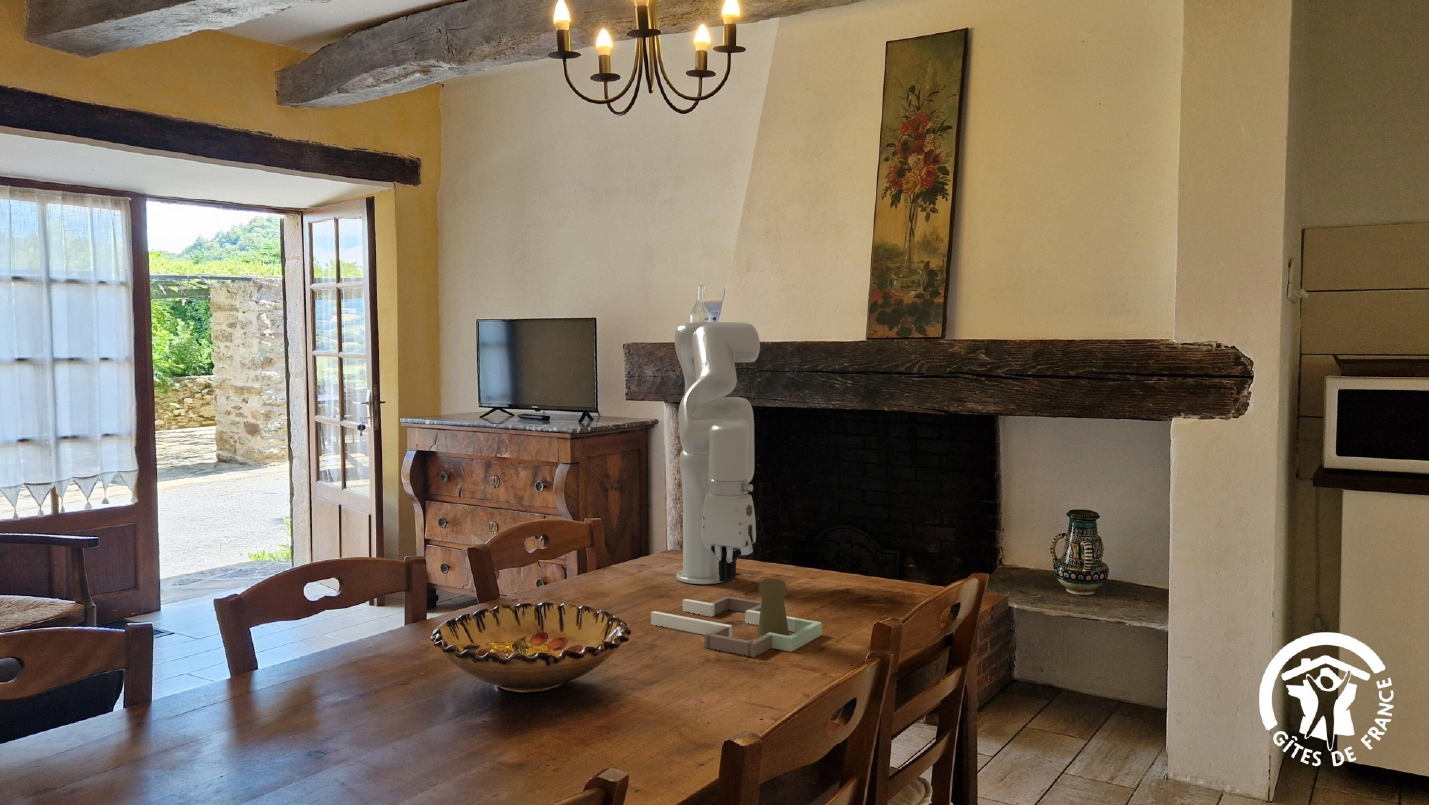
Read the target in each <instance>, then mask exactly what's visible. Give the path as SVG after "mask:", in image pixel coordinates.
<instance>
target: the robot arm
mask: <svg viewBox="0 0 1429 805" xmlns="http://www.w3.org/2000/svg"><path fill="white" fill-rule="evenodd" d="M674 346H675V347H674V349H675V352H676V357H677V360H678V362H679V364H680V368H681V370H682V373H683V377H684V394H683V396H682V398H681V401H680V402H679V403H680V404H679V407H678V414H677V415H678V416H677V417H678V419H677V420H678V430H679V432H678V433H679V440H680V446H681V448H682V450H681V451H680V454H679V457H678V458H679V460H678V464H679V465H678V466H679V472H680V473H679V474H680V479H681V487H682V569H681V570H679V571H677V572H676V579H677V580H678V581H680V582H682V583H687V584H694V585H712V584H713V585H714V584H720V583H729V582H731V581H734V580H735V579H736V576H737V561H738V560H739V558H741V556H747V555H751V554H752V553H754V549H753V544H755V543H756V539H757V530H756V529H757V527H756V515H755V514H756V513H755V506H754V501H753V497H752V495H751V494H749V492H750V493H751V492H753V490H754V485H753V484H750V482H752V480H753V477H754V474H755V420H754V419H755V418H754V410H753V407H752V404H751V403H750V401H749V400H748V399H746V398H745V397H740V396H728V395H729V394H731V393H732V392H733V391H734V390H735V388H736V386H737V382H738V377H737V371H736V366H735V363H754V362H756V360H757V359H758V358H759V354H760V349H761V342H760V336H759V333H758V331H757V329H756V327H755V326H754V325H753V324H751V323H749V322H739V321H738V322H736V321H732V322H731V321H730V322H728V321H727V322H726V321H725V322H723V321H722V322H720V321H694V322H686V323H683V324H681V325H679V326H677V328H676V330H675V333H674Z"/></svg>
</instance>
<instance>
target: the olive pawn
mask: <svg viewBox="0 0 1429 805" xmlns="http://www.w3.org/2000/svg"><path fill="white" fill-rule="evenodd" d="M758 592H759V595H760V597H761V601H760V602H761V611H760V619H759V625H758V631H757V638H759V637H761V636H763V635H765V634H767V633H769V632H771V633H776V634H782V635H787V636H789V635H790V633H789V632H790V631H788V624H787V617H786V616H787V612H786V604H785V596H786V595H787V584H786V582H785V581H784V580H783V579H780V578H766V579H763V580H761V581H760V583H759V585H758Z"/></svg>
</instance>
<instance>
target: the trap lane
mask: <svg viewBox="0 0 1429 805" xmlns="http://www.w3.org/2000/svg"><path fill="white" fill-rule="evenodd" d="M761 602H762V601H758V600H753V599H747V598H740V597H734V596H730V595H729V596H727V595H726V596H723V597H721V598H718V599H716V600H713V601H711V602H707V601H700V600H694V599H690V598H685V599H682V612H683V611H687V612H690V613H689V614H693V613H695V614H694V615H698V614H700V615H699V616H705V617H710V618H712V617H714V616H717V615H718V614H721V613H723V612H722V611H724V612H725V611H728V609H729V611H735V612H739V611H741V612H740V613H745V617H744V620H745V621H744V623H745V624H748V623H749V624H748V625H753V624H754V625H755V626H759V619H760V611H761ZM687 612H686V613H687ZM716 614H717V615H716ZM786 617H787V624H788V631H789V632H793V633H791V634H789V636H787V635H782V634H776V633H771V632H769V633H767V634H765V635H763V636H761V637H759V638H758V637H757V638H756V639H753V640H748V639H747V640H746V639H742V638H741V639H740V638H735V637H733V625H732V624H727V623H721V622H715V621H712V620H711V621H709V620H704V619H699V618H693V617H689V616H683V615H679V614H672V613H667V612H666V613H665V612H661V611H656V610H653V611H651V612H650V625H651V624H652V625H651V626H656V625H657V627H661V626H663V627H662V628H666V627H667V628H666V629H673V630H677V631H683V632H686V633H687V632H688V633H694V634H698V635H703V636H704V637H703V638H704V639H703V640H704V643H703V645H704V646H703V647H705V649H708V650H709V649H710V650H714V649H717V650H716V651H719V650H721V651H720V652H724V651H725V653H729V652H732V653H731V654H734V653H736V654H735V655H739V654H740V655H739V656H744V655H748V656H751V657H750V658H753V657H754V658H756V657H758V656H759V655H762V654H763V653H765V652H767V651H769V650H771V649H775V650H776V649H777V650H781V651H784V652H785V651H786V652H790V653H791V652H793V651H796V650H797V649H799V648H801V647H803V646H804V645H806V644H808V643H809V642H811V641H813V640H815V639H817V638H819V637H820V636H822V634H823V621H817V620H816V621H815V620H809V619H805V618H798V617H793V616H787V615H786ZM768 649H769V650H768ZM761 653H762V654H761ZM757 655H758V656H757ZM748 656H747V657H748ZM755 656H756V657H755Z"/></svg>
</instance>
